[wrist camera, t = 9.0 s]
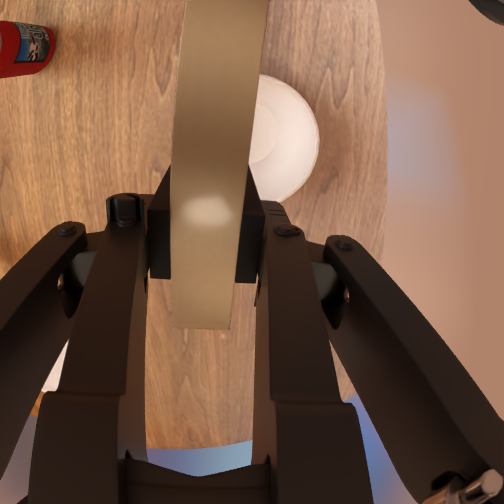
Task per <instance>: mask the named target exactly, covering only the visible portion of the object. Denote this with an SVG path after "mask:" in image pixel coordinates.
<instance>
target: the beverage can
mask: <svg viewBox="0 0 504 504" xmlns="http://www.w3.org/2000/svg"><path fill="white" fill-rule="evenodd" d="M54 47H55V39H54V36H53V33H52V32H51V31H50V30H49V29H48V28H46V27H43V26H38V25H32V24H26V23H18V22H10V21H0V78H7V77H15V76H22V75H30V74H35V73H37V72H39V71H40V70H42V69H43V68H44V67H45V66H46V65H47V64H48V62H49V61H50V59H51V57H52V55H53V52H54Z"/></svg>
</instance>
